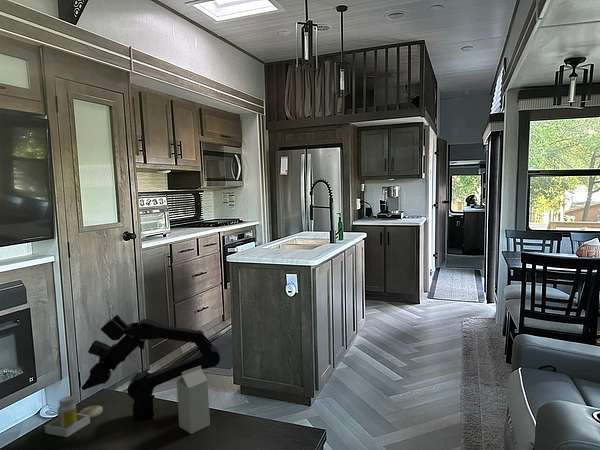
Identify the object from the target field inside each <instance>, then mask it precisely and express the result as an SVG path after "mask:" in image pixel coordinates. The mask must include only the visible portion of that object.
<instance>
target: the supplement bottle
mask: <svg viewBox="0 0 600 450" xmlns="http://www.w3.org/2000/svg"><path fill="white" fill-rule="evenodd" d="M58 403H59V406H58V408H57V419H58V425H59V427H62V428H68V427H69V426H71V425H73V424H74V423H76V422H77V404H76V402H75V403H74V397H73V396H71V395H70V396H65V397H62V398H60V399H59V401H58Z"/></svg>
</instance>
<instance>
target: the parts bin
mask: <svg viewBox="0 0 600 450" xmlns="http://www.w3.org/2000/svg"><path fill="white" fill-rule="evenodd" d="M89 424H91V418H90V415H84V414H79V412H78V413H77V422H76V423H74V424H73V425H71V426H69V427H68V428H62V427H59V425H58V418H56V419H54V420H53V421H50V422H48V423H47V424H46V425H44V433H45V434H49V435H53V436H58V437H64V438H68V437H70V436H71V435H73V434H74V433H76V432H78V431H79V430H81V429H82V428H85V426H87V425H89Z"/></svg>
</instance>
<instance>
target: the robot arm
mask: <svg viewBox="0 0 600 450" xmlns="http://www.w3.org/2000/svg"><path fill="white" fill-rule="evenodd" d="M100 331H101V332H102V333H103V334H105V336H107V337H108V338H109V339H110V340H111V341H118V342H116V343H114V344H112V345H111V346H110V345H109V344H107V343H104V342H102V341H99V340H94V341H92V343H91V346H90V347H89V349H88V351H87V353H88V354H90V355H94V356H97V357H98V362H96V363H95V364H94V365H93V366H92V367H91V369H90V370H89V376H88V379H86V380H85V382H84V384H83V385H82V386H81V388H80V389H81V390H83V391H85V390H88V389H91V388H93V387H95V386H99V385H103V384H104V385H105V384H106V383H107V382H108V381H109V380H110V379H111V376H112V371H115V370H116V368H118V366H119V365H120V364H121V363H123V362H125V361H126V359H127V357H128V356H130V355H131V353H133V352H134V351H136V349H137V348H139V349H140V350H142V351H143V350H145V347H146V345H145V343H146V340H149V341H150V340H151V341H152V340H157V339H165V340H170V341H171V340H172V341H178V342H183V343H184V342H186V343H191V344H195V345H196V347H197V349H198V351H199V352H197V353H196V354H195V355H193V356H192V357H189V358H187V359H185V360H183V361H180V362H178V363H175V364H172V365H170V366H167V367H164V368H163V369H160V370H157V371H155V372H149V371H148V369H145V370H143V371H141V372H137V373H135V375H134V376H132V378H131V379H130V381H129V383H128V387H127V390H126V391H127V395H128V396H129V397H130V398H132V400H133V404H132V416H133V418H132V419H133V421H134V422H135V421H144V420H153V419H154V418H155V416H156V413H157V411H158V409H157V408H156V398H155V397H156V396H155V394H153V392H154V389H155V387H158V386H159V385H162V384H164V383H167V382H169V381H172V380H174V379H176V378H180V377H181V376H182V372H184V371H187V370H190V369H192V368H195V367H198V366H201V369H202V370H207V369H211V368H214V367H217V366H218V365H219V363H220V361H221V355H220V350H219V348H218V347H217V346H215V345H214V344H212V342H211V341H210V339H208V338H207V336H206V335H205V333H204V331H203V330H199V329H197V330H195V329H189V328H183V327H178V326H177V327H176V326H169V325H164V324H162V323H160V322H158V321H156V320H152V319H149V318H143V319H141V320H140V321H138V322H137V321H136V322H130V323H128V324H127V323H126V322H125V321H124V320H123V319H122V318H121V316H120V315H118V314H115V316H114V317H112V318H111V319H109V320H108V321H107V322H106V323H105V324H104V325H103V326H102V327H100ZM111 370H112V371H111Z"/></svg>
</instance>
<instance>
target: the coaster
mask: <svg viewBox="0 0 600 450" xmlns="http://www.w3.org/2000/svg"><path fill="white" fill-rule="evenodd" d="M103 411H104V409H103V406H101V405H89V406H86V407H84V408H82V409H81V410H80V411H79V412H78V414H84V415H90V419H92V418H94V417H98V416H100V415H101V414H102V413H103Z"/></svg>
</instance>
